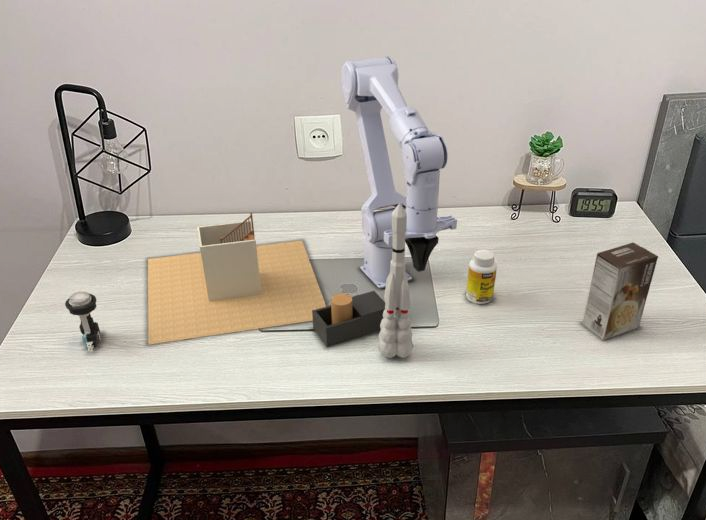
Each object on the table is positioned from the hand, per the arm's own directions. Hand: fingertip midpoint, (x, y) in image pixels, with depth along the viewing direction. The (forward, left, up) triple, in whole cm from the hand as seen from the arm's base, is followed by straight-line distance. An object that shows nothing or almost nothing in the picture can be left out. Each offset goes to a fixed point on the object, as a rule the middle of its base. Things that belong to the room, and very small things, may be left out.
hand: (418, 268), depth 134 cm
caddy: (0, -14, -10) cm, 17 cm away
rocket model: (+10, -10, -10) cm, 17 cm away
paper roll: (-1, -16, -6) cm, 17 cm away
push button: (-18, -60, -10) cm, 64 cm away
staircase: (-26, -30, -10) cm, 41 cm away
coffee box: (+22, +31, -10) cm, 39 cm away
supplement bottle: (+2, +14, -10) cm, 17 cm away
